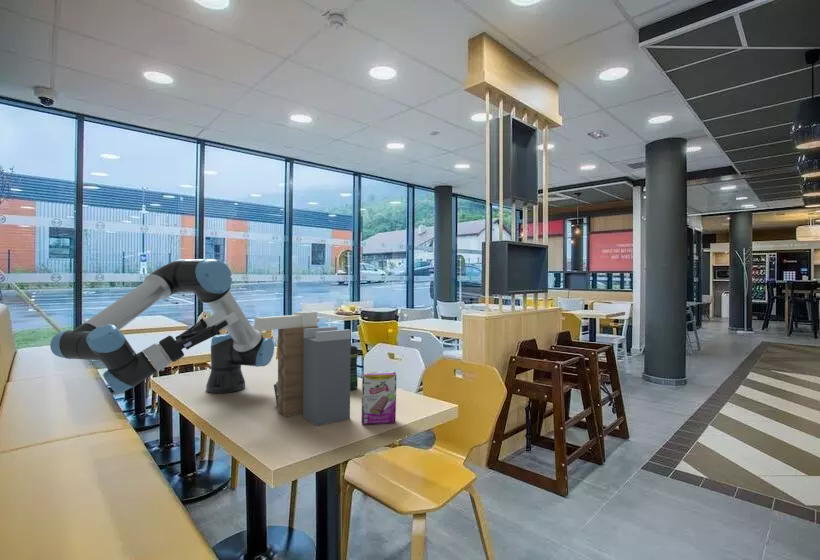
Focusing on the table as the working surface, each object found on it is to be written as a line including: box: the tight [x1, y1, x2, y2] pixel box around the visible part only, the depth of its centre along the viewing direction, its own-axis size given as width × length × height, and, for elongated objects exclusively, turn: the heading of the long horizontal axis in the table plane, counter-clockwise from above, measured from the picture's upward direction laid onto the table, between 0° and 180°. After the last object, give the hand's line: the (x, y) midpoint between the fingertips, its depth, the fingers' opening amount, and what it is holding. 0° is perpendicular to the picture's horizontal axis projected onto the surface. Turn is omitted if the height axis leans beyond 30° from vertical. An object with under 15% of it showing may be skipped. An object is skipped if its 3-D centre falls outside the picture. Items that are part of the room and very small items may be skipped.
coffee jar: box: [350, 345, 359, 391], centre depth 183 cm, size 10×8×19 cm
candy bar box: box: [360, 370, 397, 426], centre depth 141 cm, size 11×5×16 cm, turn 99°
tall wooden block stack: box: [277, 325, 319, 417], centre depth 152 cm, size 7×12×30 cm, turn 127°
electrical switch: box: [273, 381, 278, 406], centre depth 161 cm, size 9×5×9 cm, turn 141°
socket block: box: [302, 326, 352, 426], centre depth 145 cm, size 11×12×30 cm
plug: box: [254, 310, 320, 332], centre depth 149 cm, size 6×22×5 cm, turn 135°
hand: (230, 314), depth 138 cm, fingers open, 13 cm apart
